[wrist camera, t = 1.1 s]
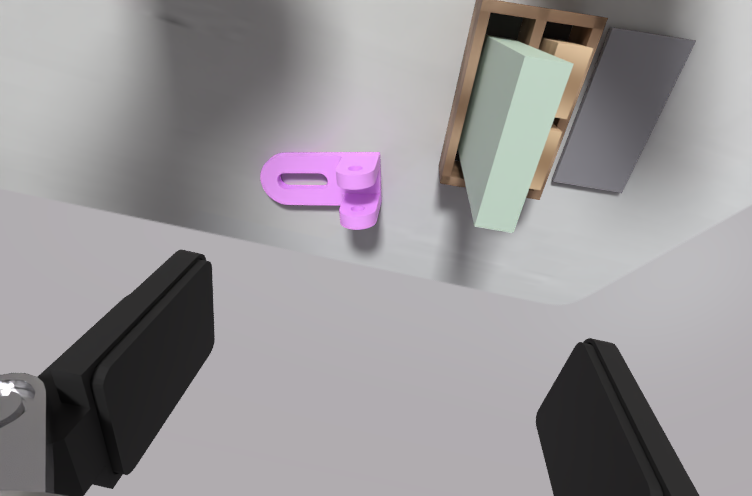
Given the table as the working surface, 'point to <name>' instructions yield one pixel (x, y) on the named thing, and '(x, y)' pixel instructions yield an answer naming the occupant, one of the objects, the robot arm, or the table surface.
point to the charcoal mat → (620, 108)
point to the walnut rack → (530, 33)
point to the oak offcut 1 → (546, 158)
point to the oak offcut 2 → (580, 60)
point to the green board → (508, 127)
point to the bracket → (330, 183)
